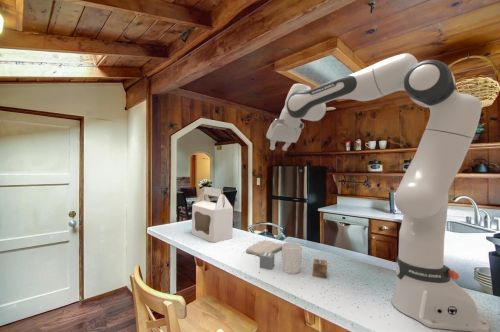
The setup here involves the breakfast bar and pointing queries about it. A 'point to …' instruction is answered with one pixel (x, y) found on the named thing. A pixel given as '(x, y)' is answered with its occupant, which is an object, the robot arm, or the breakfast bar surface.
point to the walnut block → (320, 268)
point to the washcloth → (264, 247)
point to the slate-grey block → (267, 260)
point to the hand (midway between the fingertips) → (278, 149)
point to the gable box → (212, 216)
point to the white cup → (291, 257)
